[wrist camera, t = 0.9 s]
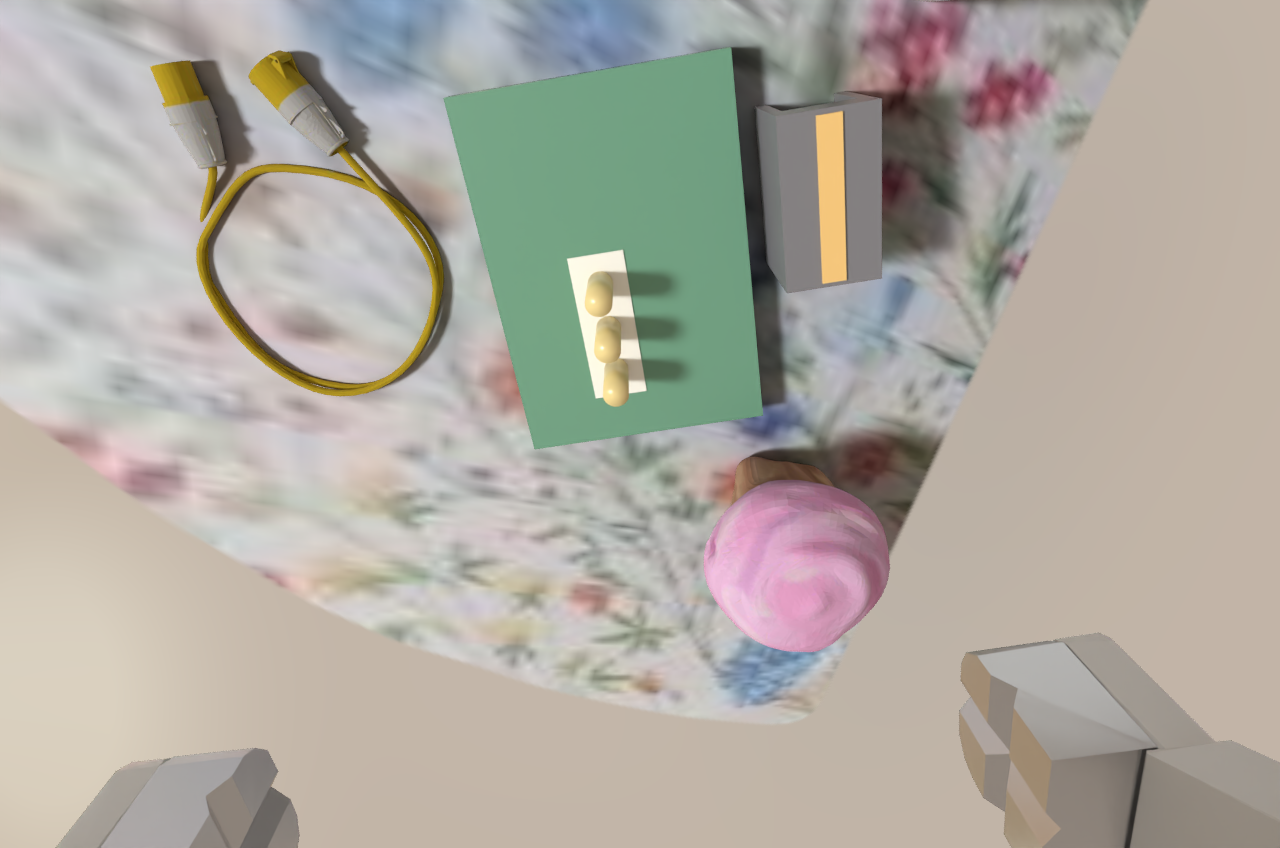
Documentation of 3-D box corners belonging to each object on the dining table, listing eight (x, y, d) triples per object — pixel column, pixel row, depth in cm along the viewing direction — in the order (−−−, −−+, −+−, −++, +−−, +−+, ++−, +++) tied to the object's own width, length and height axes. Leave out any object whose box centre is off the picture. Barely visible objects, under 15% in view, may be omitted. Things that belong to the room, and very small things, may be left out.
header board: (451, 95, 31) (425, 103, 27) (726, 47, 31) (741, 47, 27) (537, 435, 39) (528, 479, 35) (758, 402, 38) (773, 443, 34)
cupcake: (867, 434, 39) (938, 546, 31) (826, 559, 43) (878, 690, 35) (708, 415, 39) (733, 524, 30) (681, 544, 43) (696, 674, 34)
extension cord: (456, 81, 31) (446, 84, 30) (439, 402, 39) (430, 419, 37) (163, 25, 30) (134, 24, 28) (201, 366, 37) (181, 382, 36)
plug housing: (754, 106, 32) (776, 116, 27) (845, 91, 31) (882, 98, 27) (766, 261, 35) (787, 293, 30) (848, 248, 35) (882, 279, 30)
